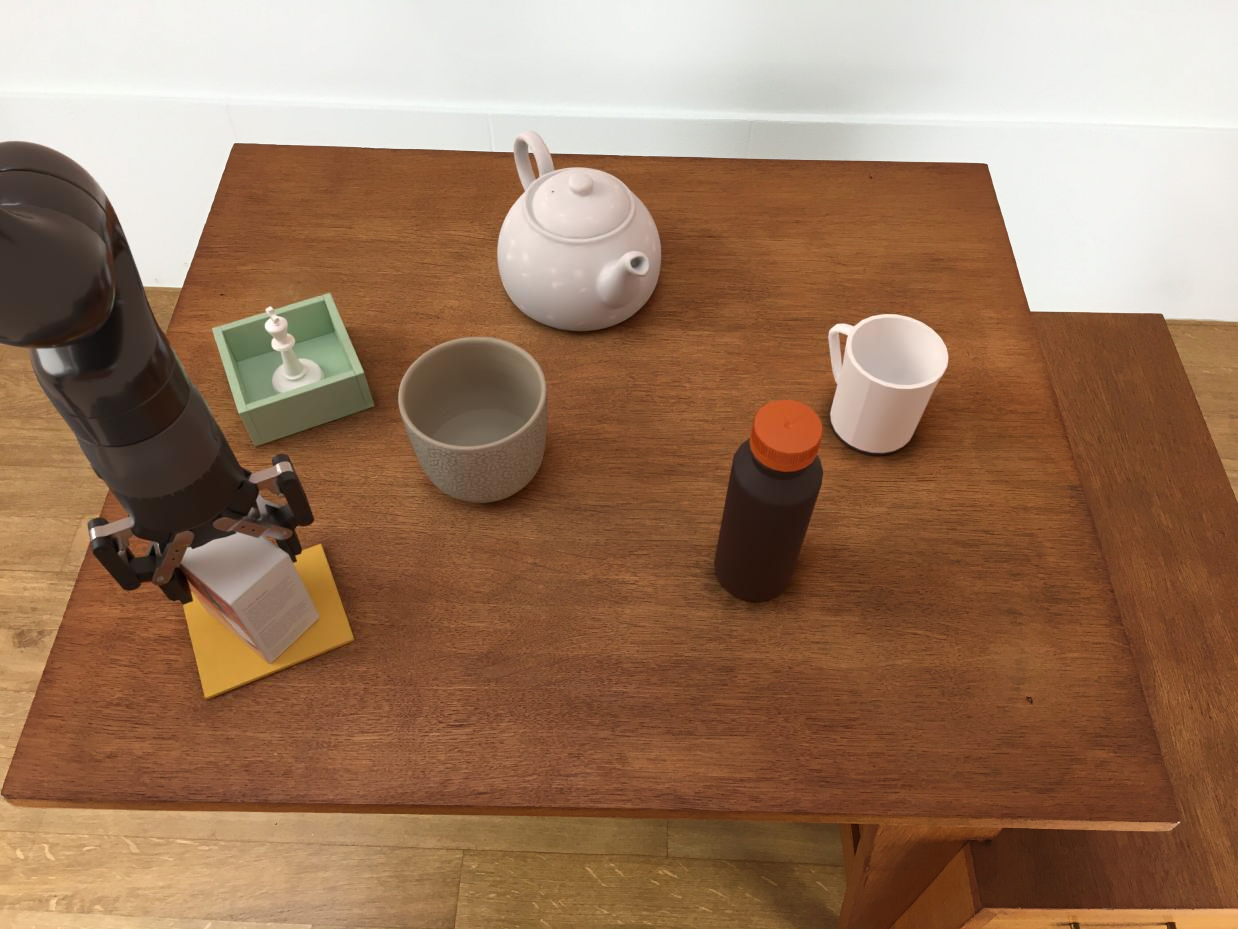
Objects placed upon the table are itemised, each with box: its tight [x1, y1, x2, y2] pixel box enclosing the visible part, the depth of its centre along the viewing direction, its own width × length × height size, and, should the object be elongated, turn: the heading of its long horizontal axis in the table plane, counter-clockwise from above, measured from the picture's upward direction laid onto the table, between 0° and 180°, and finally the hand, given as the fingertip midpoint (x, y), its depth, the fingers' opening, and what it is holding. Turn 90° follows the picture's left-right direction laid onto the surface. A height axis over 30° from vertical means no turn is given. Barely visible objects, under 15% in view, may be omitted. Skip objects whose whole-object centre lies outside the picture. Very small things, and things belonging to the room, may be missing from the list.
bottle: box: [713, 399, 824, 602], centre depth 75 cm, size 7×7×20 cm
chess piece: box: [265, 306, 324, 394], centre depth 91 cm, size 5×5×10 cm
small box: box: [179, 532, 320, 664], centre depth 76 cm, size 8×6×10 cm
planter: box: [397, 336, 549, 504], centre depth 85 cm, size 12×12×11 cm
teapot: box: [496, 130, 662, 332], centre depth 99 cm, size 19×18×14 cm
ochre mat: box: [182, 543, 355, 701], centre depth 80 cm, size 12×10×1 cm
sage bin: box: [211, 292, 375, 447], centre depth 93 cm, size 12×12×5 cm
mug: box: [827, 313, 949, 456], centre depth 89 cm, size 11×9×10 cm
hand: (238, 573), depth 74 cm, fingers closed on small box, 7 cm apart
